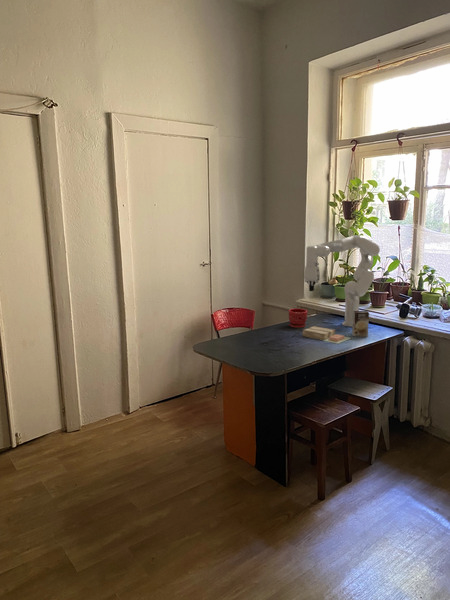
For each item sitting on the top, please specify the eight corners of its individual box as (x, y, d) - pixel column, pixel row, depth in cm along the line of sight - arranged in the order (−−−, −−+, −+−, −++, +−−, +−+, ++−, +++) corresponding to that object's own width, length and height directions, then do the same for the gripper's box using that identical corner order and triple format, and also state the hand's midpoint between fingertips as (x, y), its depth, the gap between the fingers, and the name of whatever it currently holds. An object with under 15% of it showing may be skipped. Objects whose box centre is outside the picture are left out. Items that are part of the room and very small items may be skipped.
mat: (336, 335, 293) (336, 335, 293) (350, 338, 286) (351, 337, 286) (323, 340, 282) (323, 340, 282) (338, 343, 274) (338, 343, 274)
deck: (314, 331, 303) (314, 326, 303) (335, 335, 292) (335, 329, 292) (302, 336, 294) (302, 330, 293) (323, 340, 283) (323, 334, 282)
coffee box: (353, 336, 289) (354, 312, 286) (351, 334, 296) (352, 310, 293) (368, 336, 288) (369, 312, 285) (366, 334, 295) (367, 310, 292)
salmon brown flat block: (344, 335, 283) (344, 338, 284) (336, 334, 288) (336, 337, 288) (337, 338, 277) (337, 341, 278) (328, 337, 281) (328, 340, 282)
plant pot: (287, 328, 314) (287, 311, 312) (290, 323, 327) (290, 307, 324) (305, 329, 311) (306, 312, 308) (308, 324, 323) (308, 308, 321)
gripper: (324, 264, 300) (323, 291, 303) (305, 263, 310) (305, 289, 314) (318, 265, 295) (317, 292, 298) (299, 264, 305) (299, 290, 308)
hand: (311, 290), depth 306 cm, fingers closed
